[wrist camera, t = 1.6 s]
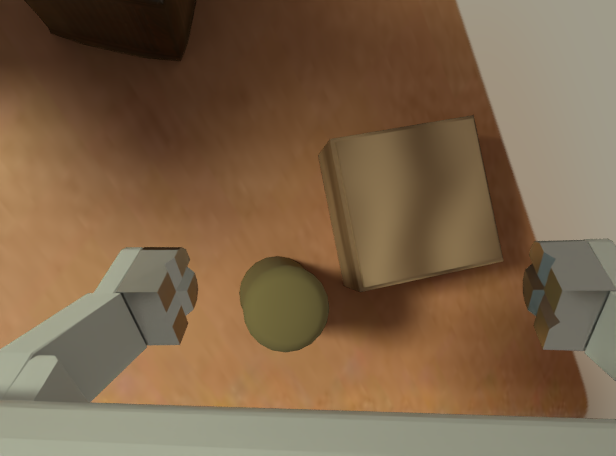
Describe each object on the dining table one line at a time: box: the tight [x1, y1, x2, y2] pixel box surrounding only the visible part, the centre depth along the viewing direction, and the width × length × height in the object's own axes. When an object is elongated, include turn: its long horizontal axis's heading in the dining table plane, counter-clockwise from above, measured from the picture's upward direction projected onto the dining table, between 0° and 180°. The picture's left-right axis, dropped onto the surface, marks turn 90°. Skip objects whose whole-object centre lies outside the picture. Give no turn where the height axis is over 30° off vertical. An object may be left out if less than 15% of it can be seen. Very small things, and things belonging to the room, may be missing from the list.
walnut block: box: [318, 115, 503, 292], centre depth 36 cm, size 11×11×6 cm
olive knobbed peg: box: [239, 256, 329, 352], centre depth 32 cm, size 6×6×11 cm
